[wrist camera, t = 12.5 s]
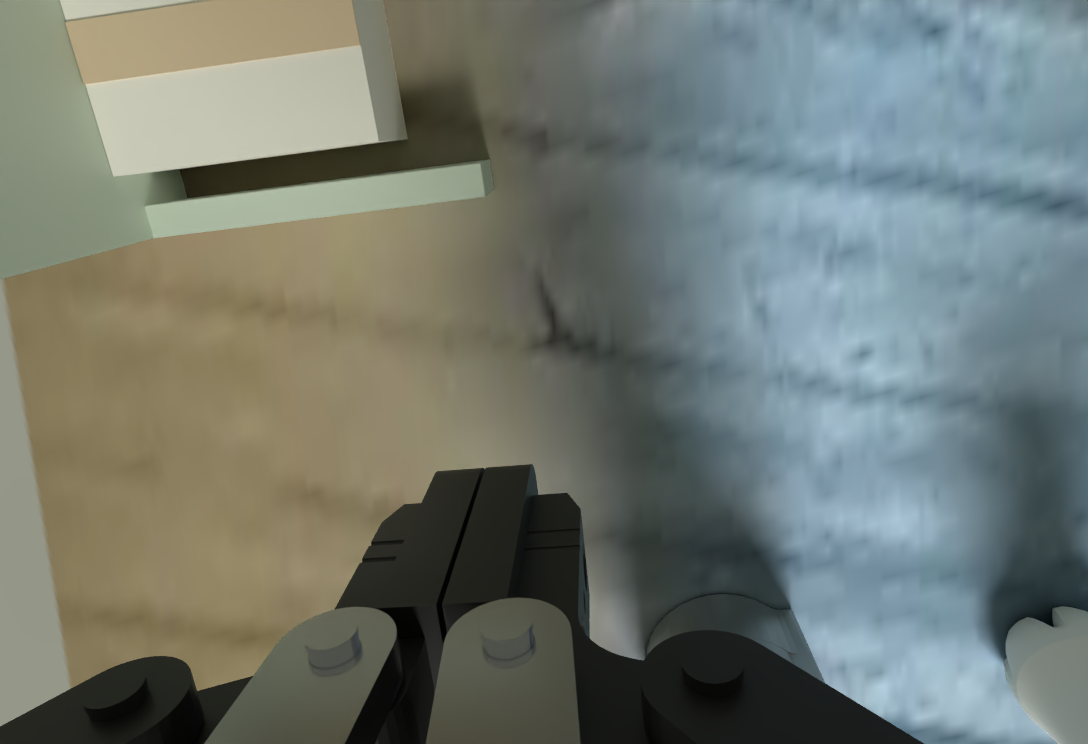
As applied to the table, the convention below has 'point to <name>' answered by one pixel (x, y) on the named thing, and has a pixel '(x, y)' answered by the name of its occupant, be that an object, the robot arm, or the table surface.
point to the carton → (234, 78)
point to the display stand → (140, 199)
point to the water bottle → (1052, 672)
